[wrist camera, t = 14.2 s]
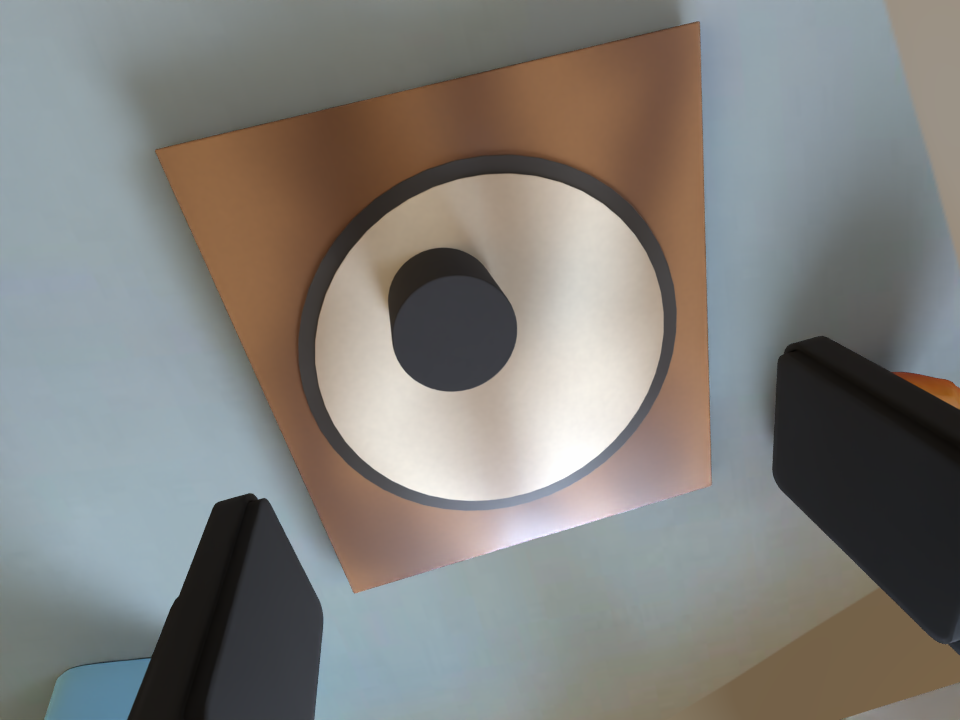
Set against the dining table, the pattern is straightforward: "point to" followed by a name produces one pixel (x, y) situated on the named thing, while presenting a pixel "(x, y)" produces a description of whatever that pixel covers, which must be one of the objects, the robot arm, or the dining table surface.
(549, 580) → the dining table surface
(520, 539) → the board
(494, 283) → the dot
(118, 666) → the vase
